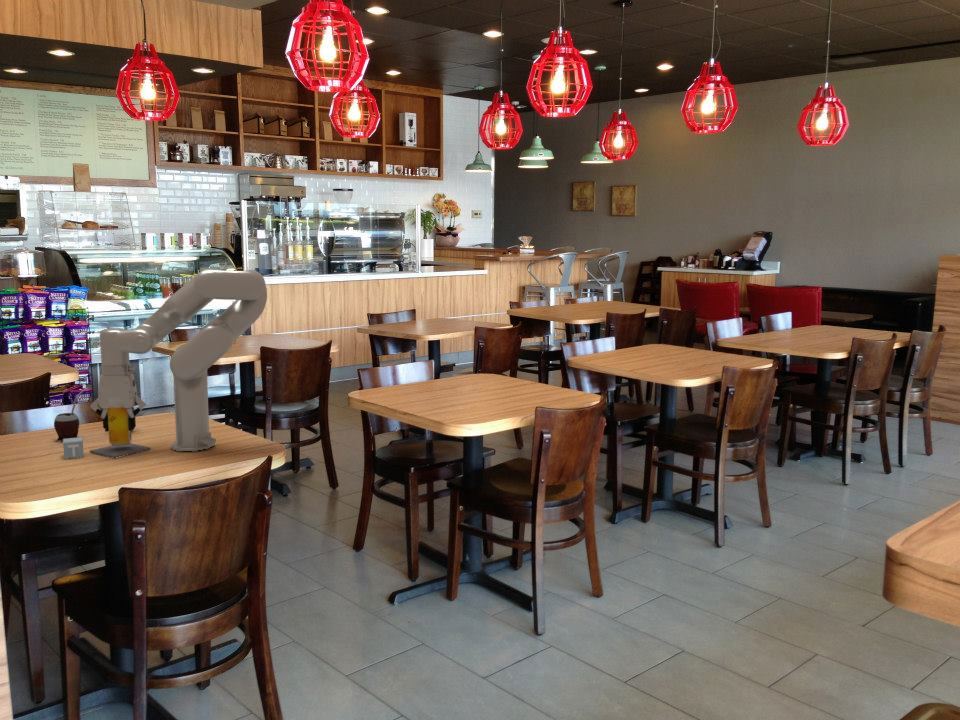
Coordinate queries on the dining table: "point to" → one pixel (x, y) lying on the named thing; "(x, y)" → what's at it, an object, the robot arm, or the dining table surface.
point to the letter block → (73, 447)
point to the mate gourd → (67, 424)
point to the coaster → (119, 450)
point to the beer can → (118, 422)
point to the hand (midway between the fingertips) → (119, 429)
